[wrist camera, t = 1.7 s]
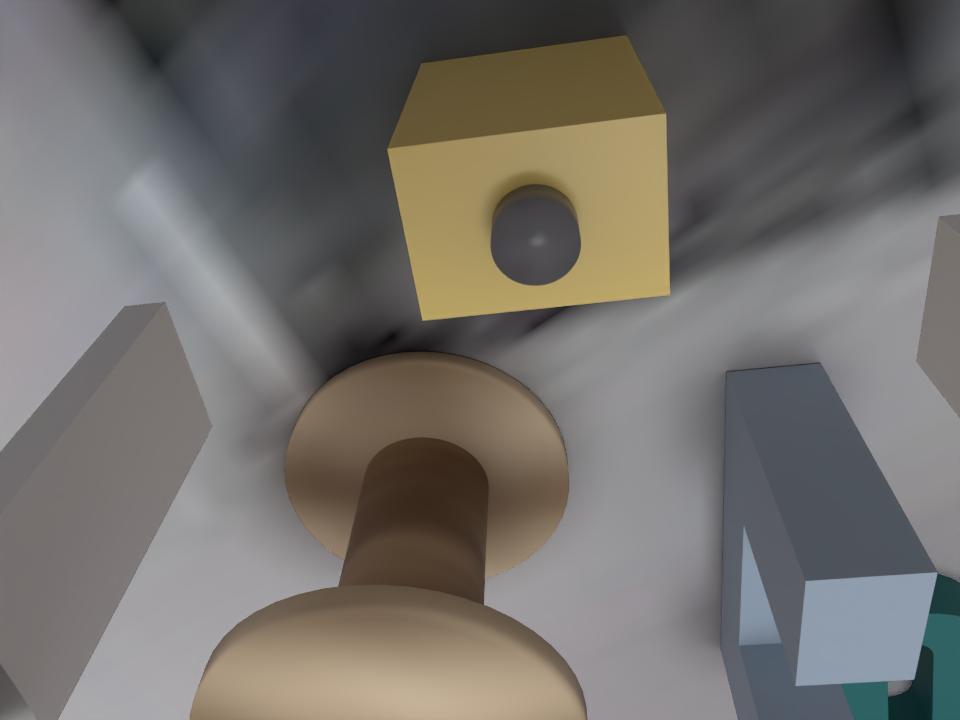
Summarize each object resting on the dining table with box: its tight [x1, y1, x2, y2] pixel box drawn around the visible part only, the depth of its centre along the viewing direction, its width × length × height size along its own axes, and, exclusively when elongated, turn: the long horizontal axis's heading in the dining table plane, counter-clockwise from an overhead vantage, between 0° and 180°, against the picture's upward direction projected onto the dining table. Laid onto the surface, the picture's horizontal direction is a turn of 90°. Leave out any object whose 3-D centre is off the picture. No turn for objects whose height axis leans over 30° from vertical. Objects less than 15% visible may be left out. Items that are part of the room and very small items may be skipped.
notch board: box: [721, 363, 938, 720], centre depth 27 cm, size 14×3×9 cm, turn 8°
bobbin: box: [190, 351, 587, 720], centre depth 26 cm, size 10×10×11 cm
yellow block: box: [387, 35, 670, 321], centre depth 20 cm, size 4×6×8 cm
